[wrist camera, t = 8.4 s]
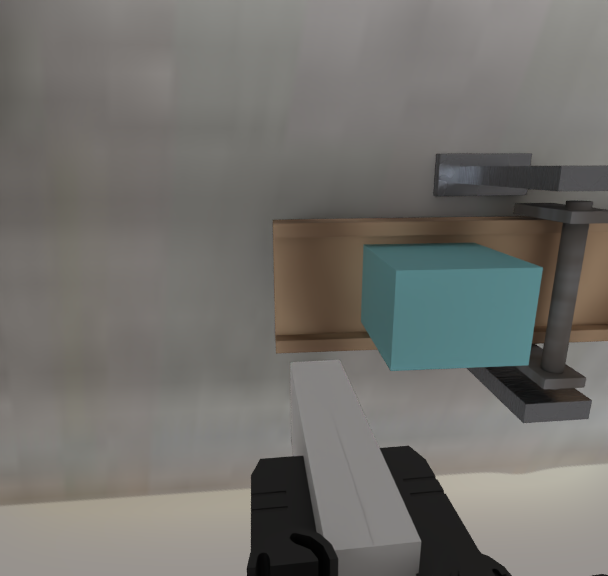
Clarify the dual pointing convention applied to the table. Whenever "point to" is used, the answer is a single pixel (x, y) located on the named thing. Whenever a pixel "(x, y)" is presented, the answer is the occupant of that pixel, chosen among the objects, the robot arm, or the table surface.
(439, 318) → the block
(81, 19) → the table surface
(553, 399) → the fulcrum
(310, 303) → the beam
